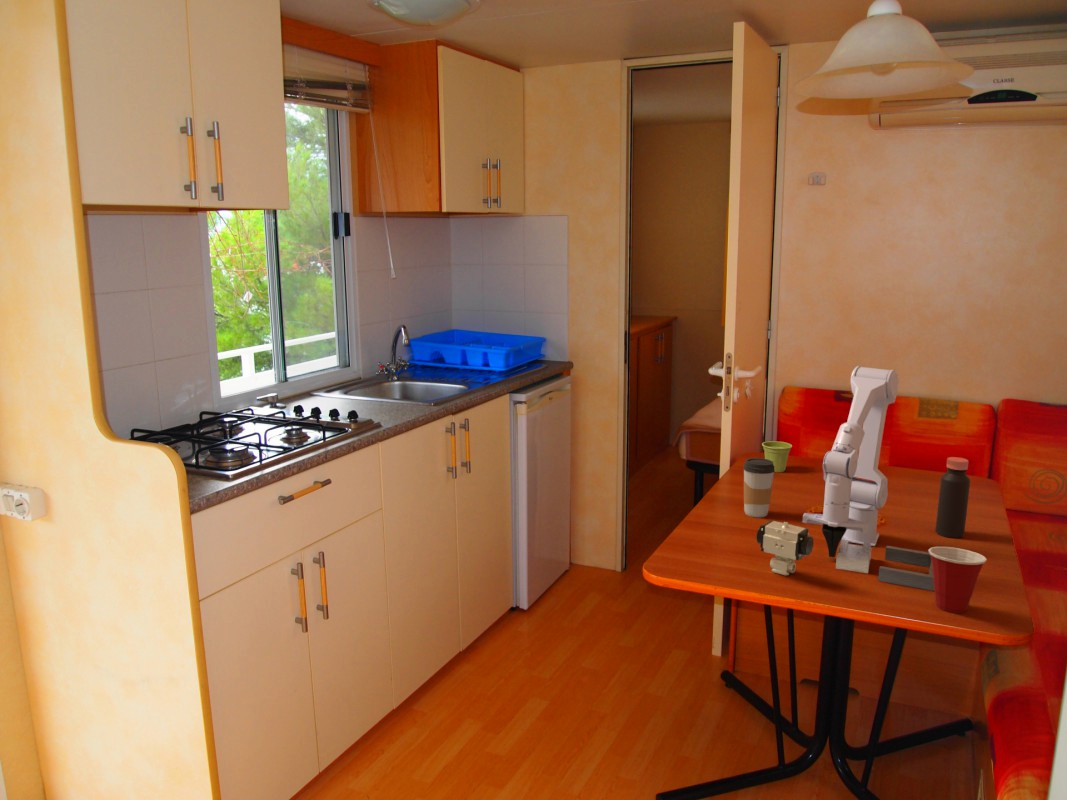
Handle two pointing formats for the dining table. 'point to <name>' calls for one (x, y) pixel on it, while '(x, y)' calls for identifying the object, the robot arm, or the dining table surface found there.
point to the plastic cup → (954, 576)
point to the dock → (907, 576)
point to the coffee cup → (757, 486)
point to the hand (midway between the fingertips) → (832, 555)
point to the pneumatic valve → (784, 545)
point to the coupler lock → (853, 557)
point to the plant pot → (777, 454)
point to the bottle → (953, 499)
